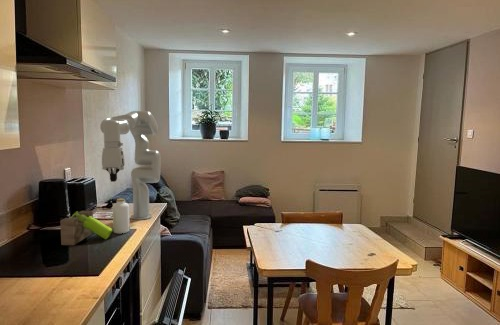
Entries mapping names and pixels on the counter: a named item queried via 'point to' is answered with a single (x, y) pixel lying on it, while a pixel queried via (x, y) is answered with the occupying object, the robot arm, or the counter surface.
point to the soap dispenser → (94, 225)
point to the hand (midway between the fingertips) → (113, 181)
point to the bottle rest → (74, 229)
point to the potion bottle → (120, 217)
